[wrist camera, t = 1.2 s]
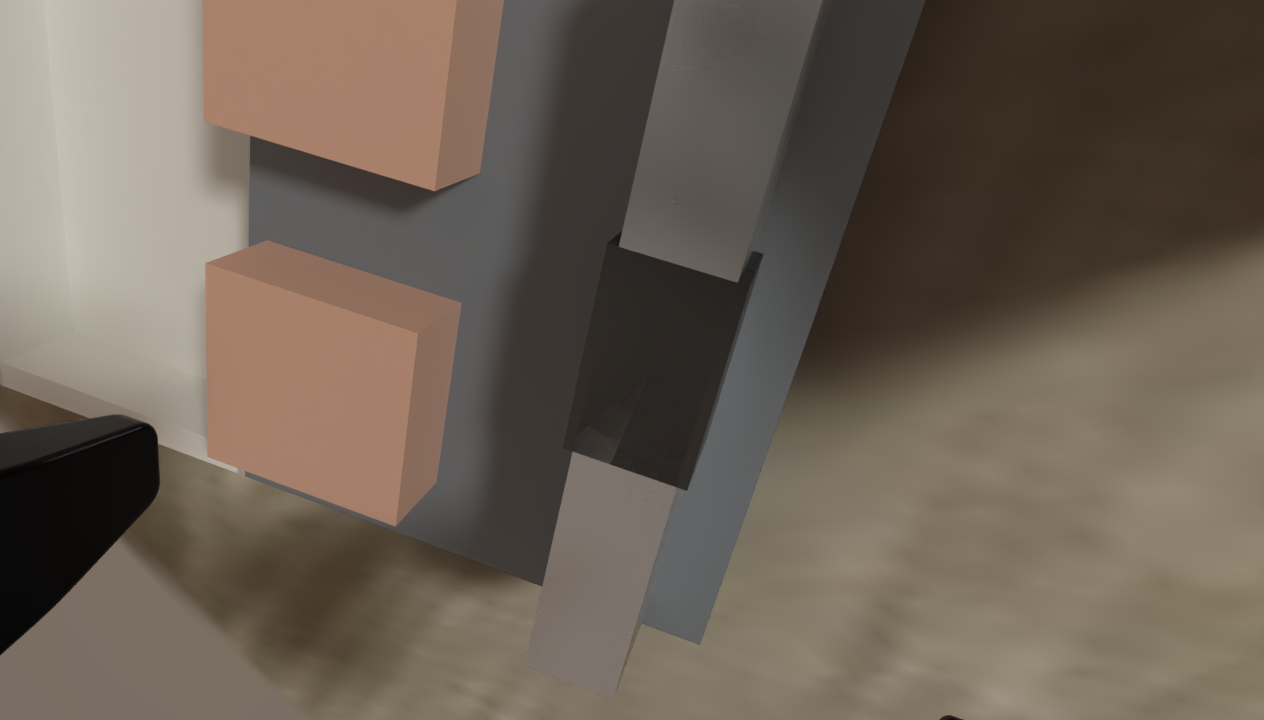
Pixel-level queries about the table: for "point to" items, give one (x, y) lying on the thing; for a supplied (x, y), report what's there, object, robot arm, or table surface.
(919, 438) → the table surface
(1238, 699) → the table surface
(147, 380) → the tray
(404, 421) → the tile
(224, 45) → the tile
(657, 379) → the sleeved grey plank
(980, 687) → the table surface
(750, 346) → the board
